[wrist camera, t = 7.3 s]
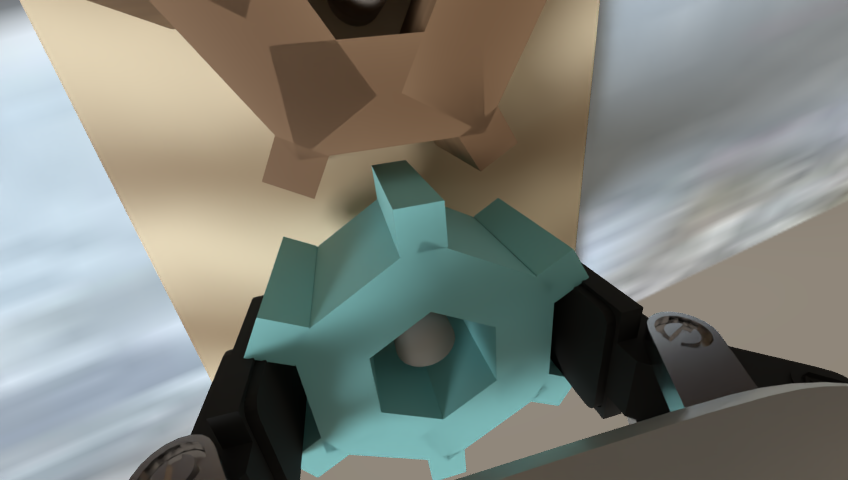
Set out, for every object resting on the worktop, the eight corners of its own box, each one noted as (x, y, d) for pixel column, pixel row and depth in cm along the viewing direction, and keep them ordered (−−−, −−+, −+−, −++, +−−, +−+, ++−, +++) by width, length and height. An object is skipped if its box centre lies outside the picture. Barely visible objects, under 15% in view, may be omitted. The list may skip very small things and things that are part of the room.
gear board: (-8, -166, 8) (-931, -845, 2) (574, -161, 11) (874, -467, 5) (229, 355, 16) (161, 531, 10) (547, 282, 19) (655, 382, 12)
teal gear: (247, 184, 9) (194, 244, 6) (512, 143, 11) (601, 173, 7) (318, 401, 13) (313, 520, 9) (511, 350, 14) (569, 438, 11)
